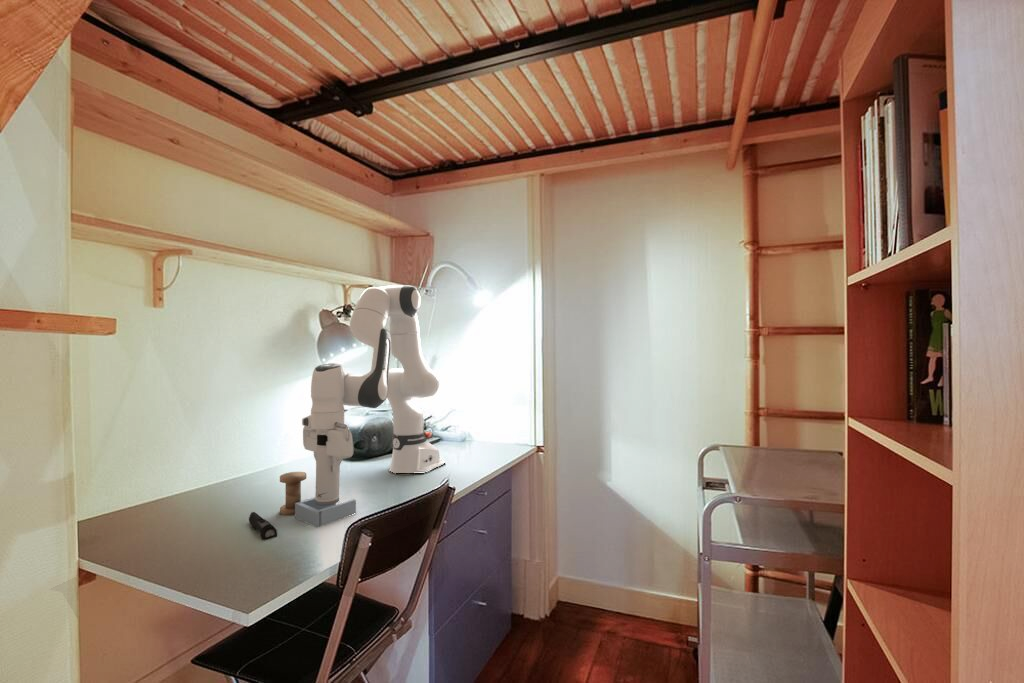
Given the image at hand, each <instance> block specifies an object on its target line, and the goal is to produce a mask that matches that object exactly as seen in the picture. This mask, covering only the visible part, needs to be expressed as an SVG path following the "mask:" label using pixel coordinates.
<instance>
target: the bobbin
mask: <svg viewBox="0 0 1024 683" xmlns="http://www.w3.org/2000/svg"><path fill="white" fill-rule="evenodd" d="M306 479H307V473H306V472H305V471H290V472H286V473H283V474H281V475H280V476H279V482H280V483H281V484H282V483H283V484H285V504H284V505H281V507H279V515H281V516H295V503H298V502H301V501H302V500H301V498H302V493H301V492H302V490H301V489H302V485H301V484H302V483H301V482H303V481H305V480H306Z"/></svg>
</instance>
